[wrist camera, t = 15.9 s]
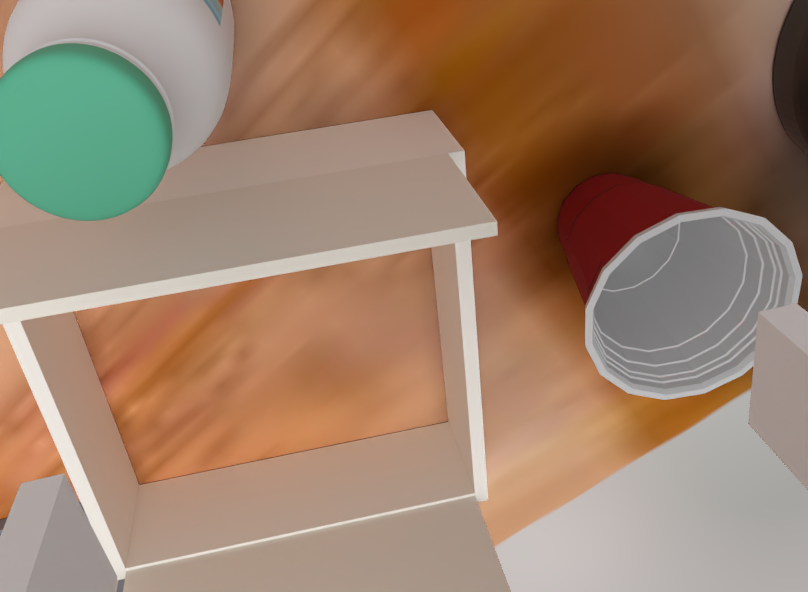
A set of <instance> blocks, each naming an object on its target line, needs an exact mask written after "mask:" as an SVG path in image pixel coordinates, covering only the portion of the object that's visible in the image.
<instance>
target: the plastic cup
mask: <svg viewBox="0 0 808 592" xmlns="http://www.w3.org/2000/svg"><path fill="white" fill-rule="evenodd" d="M558 234H559V240H560V242H561V244H562V247H563V249H564V251H565V253H566V255H567V262H568V264H569V267H570V269H571V272H572V274H573V277H574V279H575V281H576V284H577V286H578V289H579V291H580V294H581V296H582V299H583V301H584V304H585V346H586V348H587V350H588V352H589V354H590V356H591V358H592V360H593V362H594V364H595V365H596V367H597V369H598V371H599V373H600V375H601V376H603V377H604V378H606V379H607V380H609V381H610V382H612V383H613V384H615V385H616V386H618V387H619V388H621V389H622V390H624V391H625V392H627V393H628V394H633V395H639V396H645V397H651V398H656V399H662V400H667V399H673V398H680V397H686V396H692V395H698V394H704V393H706V392H708V391H711V390H713V389H715V388H717V387H719V386H721V385H723V384H725V383H727V382H730V381H732V380H734V379H736V378H738V377H740V376H742V375H743V374H745V373H746V372H747V371H748V370H749V369H750V368H751V367H753V366H754V355H755V344H756V332H757V321H758V312H761V311H765V310H769V309H773V308H778V307H782V306H786V305H791V304H795V303H797V304H798V299H799V293H800V288H801V282H802V277H803V275H802V272H801V269H800V265H799V262H798V259H797V256H796V252H795V249H794V246H793V242H792V241H791V240H789V239H788V238H787V237H786V236H785V235H784V234H783V233H782V232H780V231H779V230H778V229H777V228H776V227H775V226H774V225H773V224H772V223H770V222H769V221H768V220H767V219H766V218H764V217H760V216H756V215H752V214H748V213H744V212H740V211H736V210H732V209H727V208H723V207H711V206H708V205H705V204H703V203H700V202H698V201H695V200H693V199H690V198H688V197H685V196H683V195H681V194H678V193H676V192H673V191H671V190H668V189H666V188H663V187H661V186H658V185H653V184H649V183H646V182H644V181H641V180H639V179H637V178H634V177H630V176H626V175H621V174H617V173H615V174H614V173H607V174H602V175H596V176H592V177H591V178H589V179H587V180H586V181H584V182H582V183H580V184H579V185H577V186H576V187H575V188H574V189H573V191H572V192H571V193H570V194H569V195H568V196H567V198H566V199H565V200H564V202H563V205H562V208H561V210H560V213H559V215H558Z"/></svg>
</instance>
